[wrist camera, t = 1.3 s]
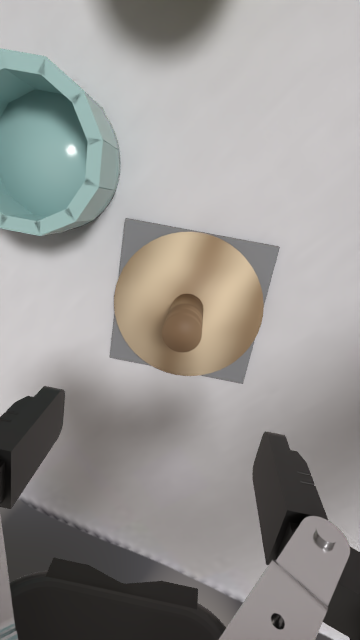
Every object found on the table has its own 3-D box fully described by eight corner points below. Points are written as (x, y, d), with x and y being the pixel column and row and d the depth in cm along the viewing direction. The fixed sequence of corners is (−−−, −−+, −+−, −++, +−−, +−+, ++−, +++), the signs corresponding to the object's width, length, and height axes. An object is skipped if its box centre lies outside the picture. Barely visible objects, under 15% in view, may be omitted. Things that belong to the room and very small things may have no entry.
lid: (279, 247, 27) (301, 259, 21) (242, 383, 31) (250, 428, 25) (125, 218, 27) (99, 221, 21) (109, 357, 32) (84, 395, 25)
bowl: (128, 93, 25) (108, 67, 20) (113, 239, 29) (93, 246, 24) (-12, 69, 25) (-63, 37, 21) (-10, 216, 29) (-52, 218, 24)
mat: (278, 246, 28) (279, 247, 27) (242, 380, 32) (242, 383, 31) (126, 218, 28) (125, 218, 27) (111, 354, 32) (109, 357, 32)
